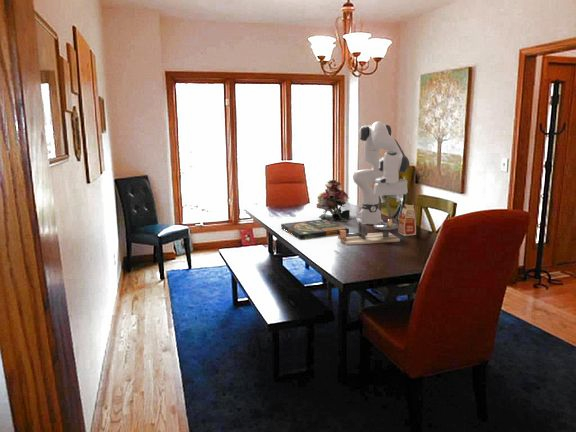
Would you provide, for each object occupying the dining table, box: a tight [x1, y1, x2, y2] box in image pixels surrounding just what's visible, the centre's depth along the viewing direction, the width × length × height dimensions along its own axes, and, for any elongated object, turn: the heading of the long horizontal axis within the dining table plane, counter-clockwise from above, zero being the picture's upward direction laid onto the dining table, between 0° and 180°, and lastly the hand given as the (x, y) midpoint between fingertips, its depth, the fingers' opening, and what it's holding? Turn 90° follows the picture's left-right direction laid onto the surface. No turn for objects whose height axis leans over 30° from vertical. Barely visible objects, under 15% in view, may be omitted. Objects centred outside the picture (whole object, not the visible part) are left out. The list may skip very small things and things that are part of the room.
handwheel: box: [373, 218, 399, 231], centre depth 270 cm, size 15×15×6 cm
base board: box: [337, 221, 401, 246], centre depth 271 cm, size 18×34×11 cm, turn 98°
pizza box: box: [280, 218, 350, 240], centre depth 299 cm, size 35×35×4 cm
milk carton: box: [397, 203, 417, 237], centre depth 282 cm, size 9×9×20 cm
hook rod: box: [338, 230, 368, 240], centre depth 270 cm, size 4×17×5 cm, turn 98°
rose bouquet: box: [315, 179, 351, 223], centre depth 333 cm, size 26×29×30 cm
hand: (390, 202), depth 261 cm, fingers open, 8 cm apart
